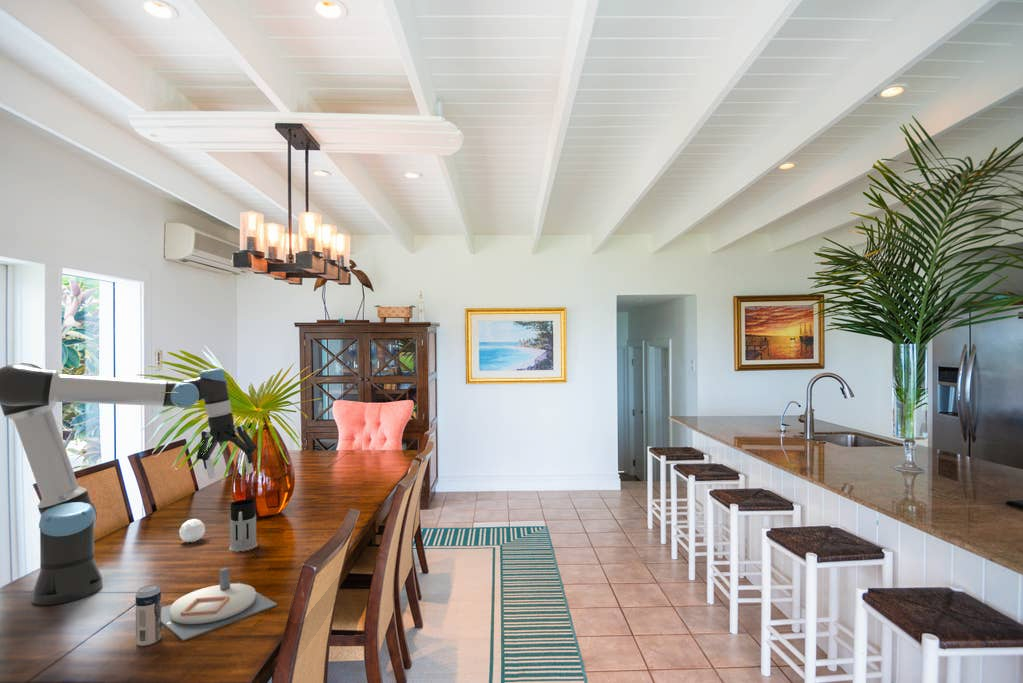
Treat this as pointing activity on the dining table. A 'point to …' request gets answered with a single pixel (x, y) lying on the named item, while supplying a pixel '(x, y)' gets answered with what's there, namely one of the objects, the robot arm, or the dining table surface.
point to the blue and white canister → (148, 615)
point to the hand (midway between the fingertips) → (231, 475)
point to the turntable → (213, 602)
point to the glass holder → (243, 525)
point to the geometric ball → (192, 530)
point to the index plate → (197, 629)
